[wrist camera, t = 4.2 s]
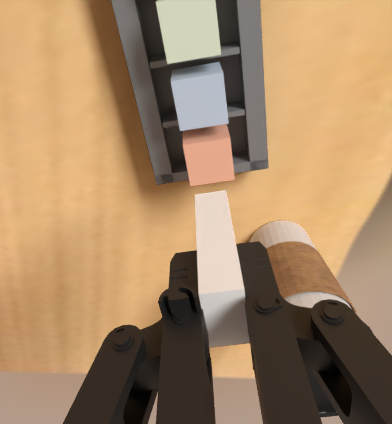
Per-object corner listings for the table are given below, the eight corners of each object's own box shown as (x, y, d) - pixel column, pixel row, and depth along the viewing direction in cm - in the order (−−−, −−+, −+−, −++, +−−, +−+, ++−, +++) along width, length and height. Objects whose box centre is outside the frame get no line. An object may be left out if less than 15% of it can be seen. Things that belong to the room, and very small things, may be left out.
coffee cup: (255, 285, 39) (287, 431, 27) (221, 230, 35) (241, 373, 23) (330, 256, 37) (403, 400, 25) (304, 194, 33) (376, 330, 21)
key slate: (172, 69, 24) (170, 81, 22) (219, 61, 24) (223, 72, 22) (180, 115, 26) (180, 131, 24) (224, 108, 26) (228, 123, 24)
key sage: (159, -2, 22) (155, 2, 20) (211, -11, 22) (214, -9, 19) (169, 53, 24) (167, 64, 21) (217, 45, 24) (221, 54, 21)
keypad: (94, -99, 21) (85, -106, 19) (246, -129, 21) (253, -140, 19) (158, 170, 31) (156, 184, 29) (262, 154, 31) (268, 168, 29)
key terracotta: (182, 128, 27) (182, 145, 24) (226, 122, 27) (230, 137, 24) (190, 167, 29) (190, 186, 26) (230, 161, 28) (234, 179, 26)
